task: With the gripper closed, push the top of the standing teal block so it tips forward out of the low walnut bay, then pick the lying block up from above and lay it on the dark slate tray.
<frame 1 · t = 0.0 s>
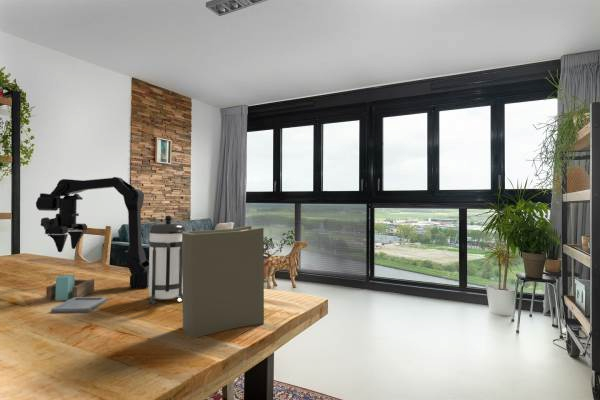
hand: (66, 250, 136), 15 cm above the table, fingers open, 9 cm apart
book: (221, 326, 98), on the table
coffee press: (167, 300, 122), on the table
bay: (71, 295, 125), on the table
tray: (81, 306, 113), on the table
block: (64, 298, 121), on the table
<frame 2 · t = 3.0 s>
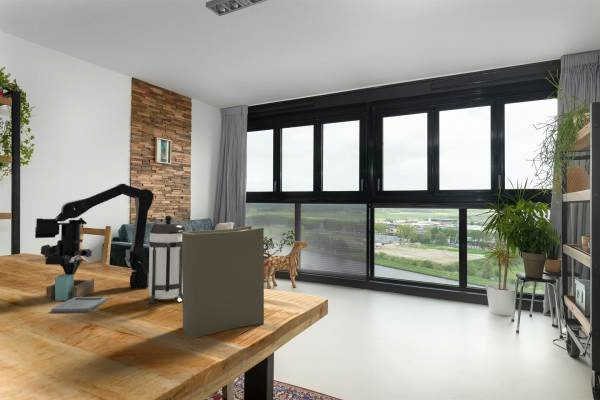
hand: (69, 280, 124), 6 cm above the table, fingers closed
block: (64, 298, 121), on the table, touching gripper
everything else where it was.
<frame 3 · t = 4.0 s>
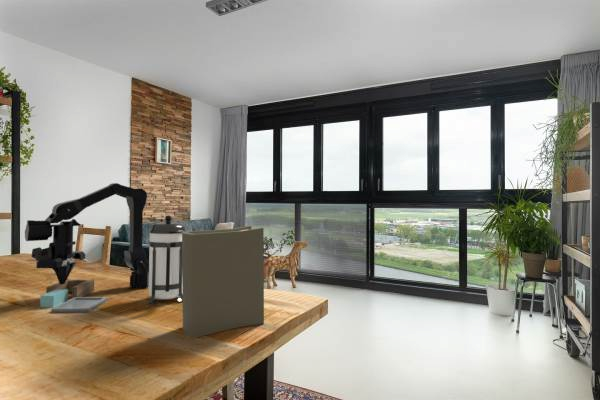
hand: (62, 284, 119), 6 cm above the table, fingers closed
block: (61, 295, 119), point 2 cm above the table, tilted 90°
everything else where it was.
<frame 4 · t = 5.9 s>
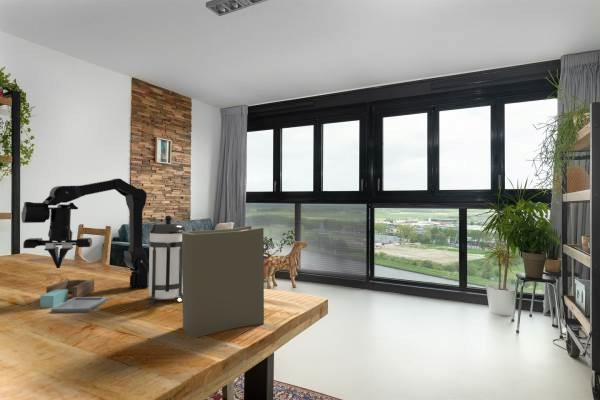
hand: (58, 268, 118), 11 cm above the table, fingers closed
nothing on the table moved.
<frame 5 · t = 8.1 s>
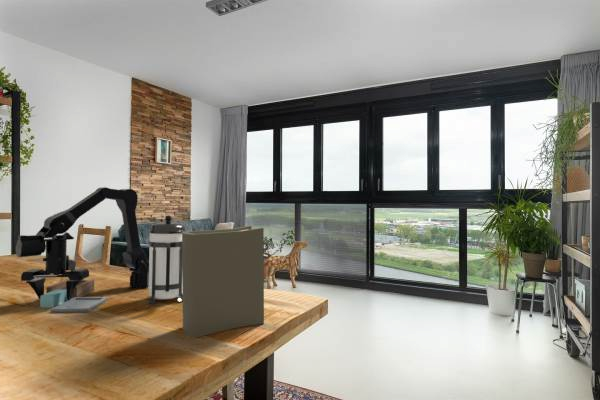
hand: (55, 300, 115), 1 cm above the table, fingers open, 8 cm apart
nothing on the table moved.
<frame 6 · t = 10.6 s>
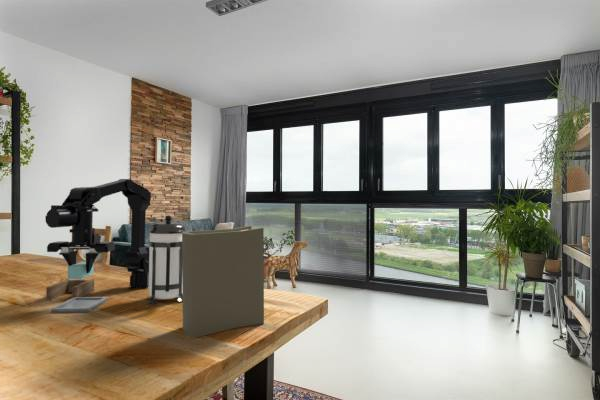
hand: (81, 272, 113), 11 cm above the table, fingers closed on block, 4 cm apart
block: (87, 267, 117), point 12 cm above the table, tilted 90°, touching gripper
everything else where it was.
when the fingers open (3 cm above the table, at t = 12.4 s): block drops 1 cm, resting on tray.
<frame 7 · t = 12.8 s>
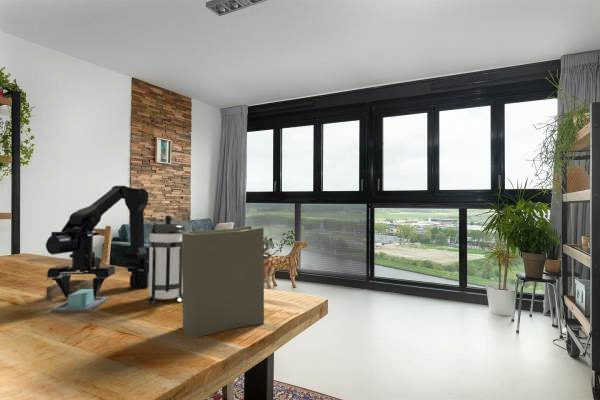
hand: (81, 297, 113), 3 cm above the table, fingers open, 8 cm apart
block: (87, 294, 117), point 3 cm above the table, tilted 90°, touching tray
everything else where it was.
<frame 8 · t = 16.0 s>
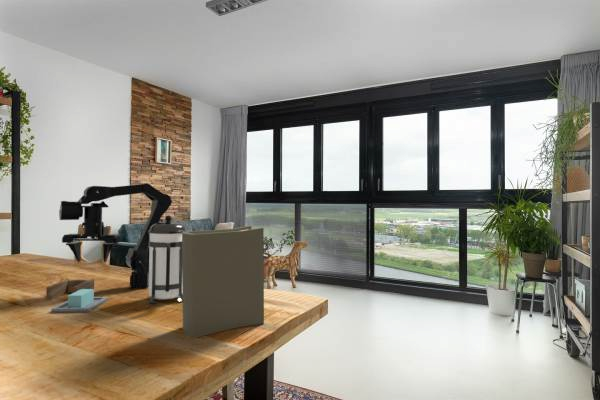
hand: (92, 261, 128), 12 cm above the table, fingers open, 9 cm apart
nothing on the table moved.
at the end: block inside the target area on the tray (3.9 cm from its centre), point 2.6 cm above the tray's base; the gripper is holding nothing; block moved 11.5 cm from its start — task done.
